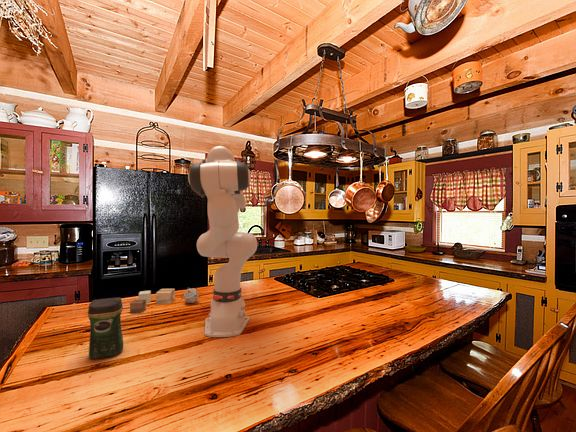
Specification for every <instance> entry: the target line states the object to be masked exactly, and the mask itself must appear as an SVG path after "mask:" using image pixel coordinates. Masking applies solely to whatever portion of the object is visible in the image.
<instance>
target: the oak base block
mask: <svg viewBox="0 0 576 432" xmlns="http://www.w3.org/2000/svg"><path fill="white" fill-rule="evenodd" d="M175 291H176V289H175V288H161V289H159V290H158V291H156V293H155V304H156V305H171V304H172V303H173V302H174V301H175V299H176V296H175V295H176V294H175V293H176V292H175Z"/></svg>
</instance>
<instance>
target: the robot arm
mask: <svg viewBox="0 0 576 432" xmlns="http://www.w3.org/2000/svg"><path fill="white" fill-rule="evenodd" d="M251 179H252V175H251V171H250V169H249V166H248V165H247V164H246V163H245V162H242V161H240V159H238V158H237V159H235V156H234V154H233V152H232V151H231V150H230V149H229V148H227V147H225V146H223V145H216V146H214V147H211V149H210V150H209V151H208V153H207V157H206V158H204V159H202V161H201V162H197V163H193V164H192V165H191V166H190V167H189V170H188V175H187V180H188V183H189V186H190V187H191V189H192V191H194V192H195V193H196V194H198V195H199V196H200V197H201V198H204V197H205V196H206V198H207V217H208V222H209V223H208V224H209V229H208V230H207V231H206V232H204V233H202V234H201V235H200V236H199V237H198V239H197V240H196V250H197V252H198V254H199V255H200V256H202V257H207V258H212V259H215V258H216V259H217V258H218V259H219V258H220V259H221V258H229V259H228V262H227V263H225V264H223V265H221V266H219V267H218V268H217V269H216V270H215V272H214V289H213V292H212V296H213V297H212V300H211V301H210V312H209V313H208V317H206V318H205V322H204V324H205V325H204V336H205V337H210V338H229V337H230V338H231V337H235V336H240V335H241V334H242V332H243V331H244V329H245V327H246V326H247V324H248V323H249V321H250V317H249V316H246V308H245V307H246V304H245V300H244V299H243V298H242V291H243V290H242V287H241V279H242V278H241V275H242V271H243V267H244V265H245V264H246V262H247V261H248V260H249V259H250V258H251V257H252V256H253V255H254V254H255V253H256V252H257V249H258V241H257V240H258V239H257V238H256V236H255V234H252V233H249V232H243V231H238V230H239V228H240V223H239V212H240V209H243V210H244V209H246V207H247V203H246V202H247V201H246V197H245V196H244V194H245V193H244V191H245V190H248V189H249V187H250V184H251Z"/></svg>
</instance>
